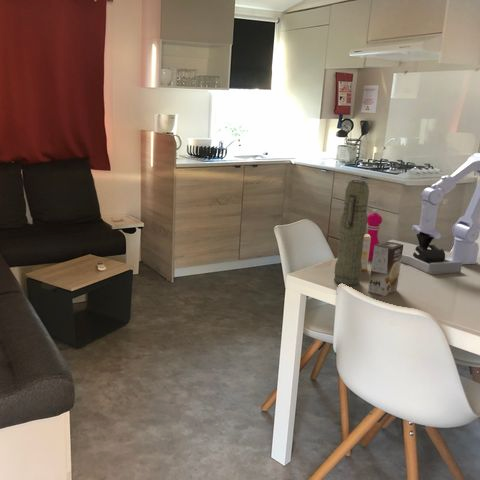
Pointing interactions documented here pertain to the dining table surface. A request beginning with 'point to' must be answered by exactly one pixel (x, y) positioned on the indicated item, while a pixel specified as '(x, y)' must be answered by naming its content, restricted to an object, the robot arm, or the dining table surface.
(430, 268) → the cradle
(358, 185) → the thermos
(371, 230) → the pepper mill
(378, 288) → the coffee box
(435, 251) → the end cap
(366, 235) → the cream bottle
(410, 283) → the dining table surface
